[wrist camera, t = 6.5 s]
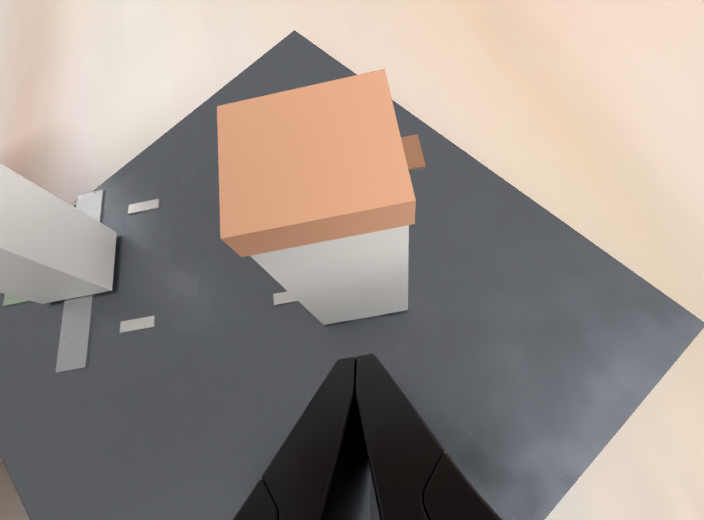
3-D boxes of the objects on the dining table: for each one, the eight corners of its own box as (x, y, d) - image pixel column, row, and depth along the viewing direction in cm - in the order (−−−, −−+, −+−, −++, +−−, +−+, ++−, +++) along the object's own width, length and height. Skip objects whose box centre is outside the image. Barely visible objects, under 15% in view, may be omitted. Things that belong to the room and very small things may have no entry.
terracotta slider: (410, 311, 16) (415, 200, 7) (321, 327, 16) (220, 238, 7) (395, 240, 17) (384, 69, 8) (312, 256, 17) (216, 106, 8)
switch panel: (697, 326, 15) (708, 323, 14) (222, 895, 11) (213, 921, 11) (292, 35, 23) (290, 26, 22) (-55, 313, 19) (-69, 310, 19)
